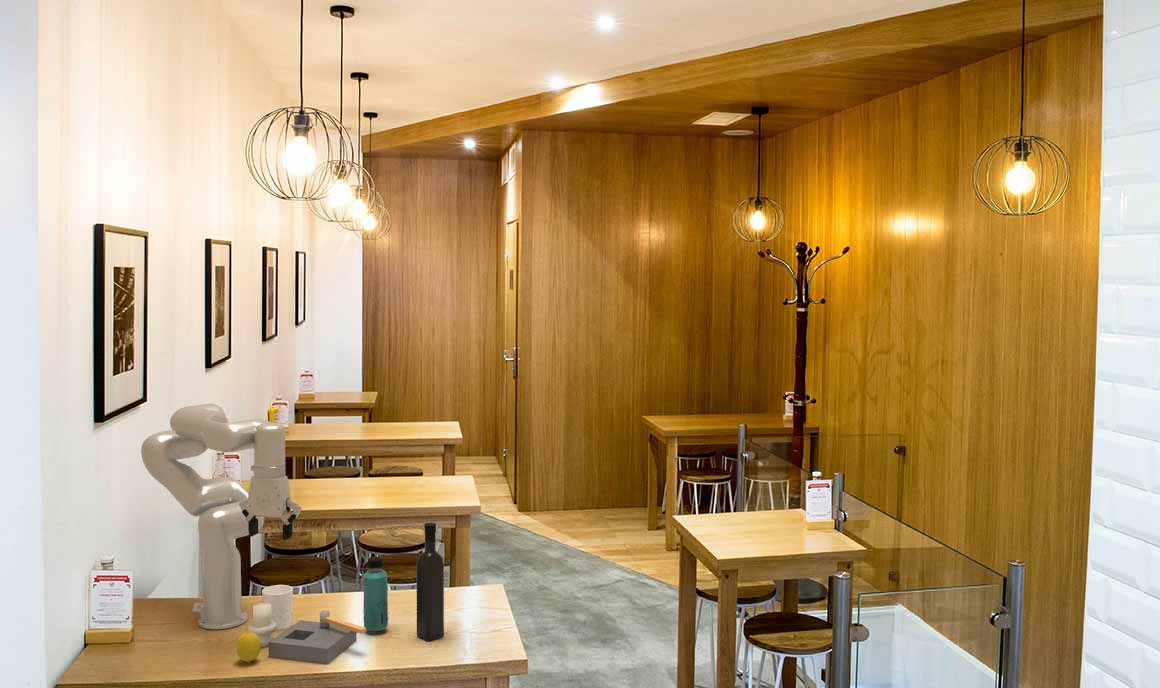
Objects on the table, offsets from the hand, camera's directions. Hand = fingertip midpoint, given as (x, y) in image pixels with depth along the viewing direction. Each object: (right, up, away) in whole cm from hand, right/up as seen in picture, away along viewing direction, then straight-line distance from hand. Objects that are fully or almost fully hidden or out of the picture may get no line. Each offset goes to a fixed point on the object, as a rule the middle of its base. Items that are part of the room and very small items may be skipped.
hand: (270, 536), depth 242 cm
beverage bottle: (+26, -27, +7) cm, 38 cm away
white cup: (-1, -26, +10) cm, 28 cm away
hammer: (+20, -23, -5) cm, 31 cm away
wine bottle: (+41, -27, +4) cm, 49 cm away
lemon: (-1, -28, -14) cm, 31 cm away
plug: (-1, -27, -2) cm, 27 cm away
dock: (+13, -27, -5) cm, 30 cm away
